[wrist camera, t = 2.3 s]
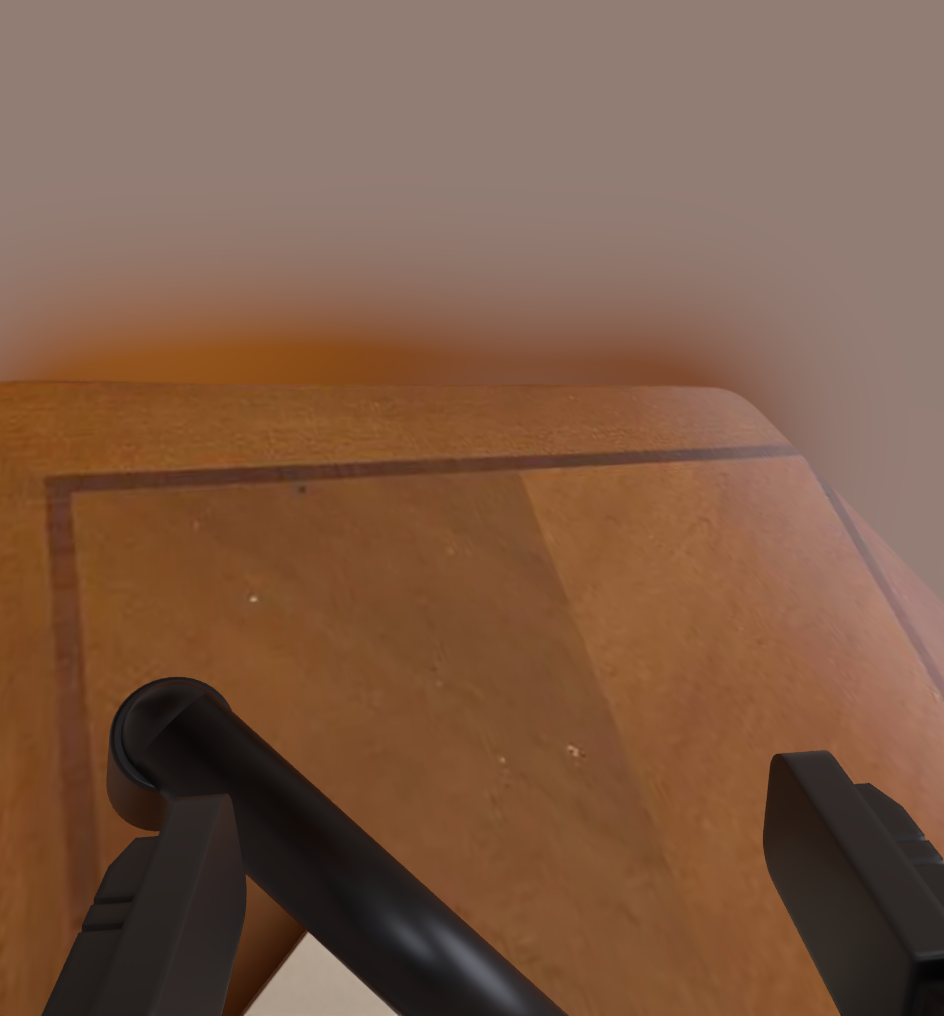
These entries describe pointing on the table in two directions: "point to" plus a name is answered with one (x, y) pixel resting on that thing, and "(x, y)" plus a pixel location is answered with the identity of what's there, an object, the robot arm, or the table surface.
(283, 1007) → the base
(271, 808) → the spout
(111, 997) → the robot arm
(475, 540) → the table surface
